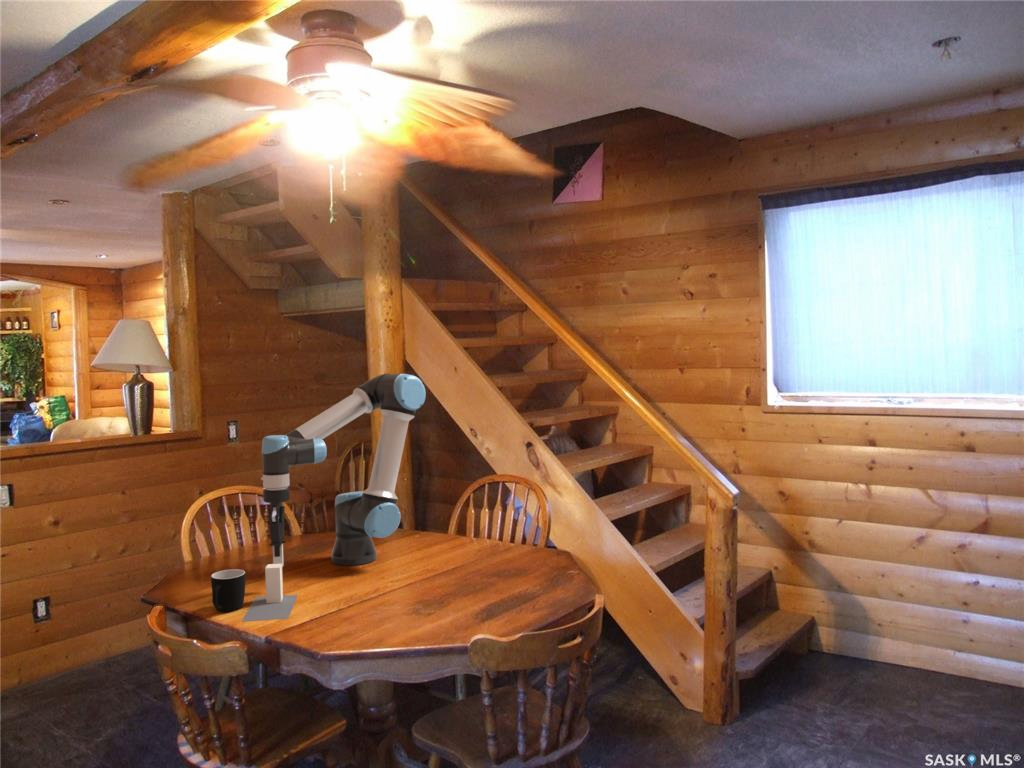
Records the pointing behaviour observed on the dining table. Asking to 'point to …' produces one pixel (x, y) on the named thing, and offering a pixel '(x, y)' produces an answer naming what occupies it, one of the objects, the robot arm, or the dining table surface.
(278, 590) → the pillar
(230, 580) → the mug
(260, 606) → the felt mat
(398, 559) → the dining table surface
